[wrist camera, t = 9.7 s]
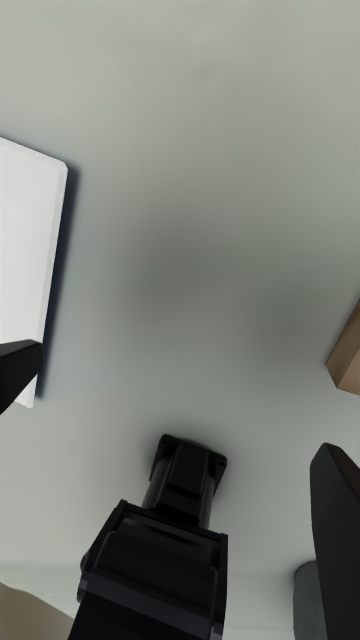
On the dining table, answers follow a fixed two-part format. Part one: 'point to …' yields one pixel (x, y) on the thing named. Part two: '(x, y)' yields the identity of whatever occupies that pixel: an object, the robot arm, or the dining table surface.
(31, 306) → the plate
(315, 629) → the grey bottle
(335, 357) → the base
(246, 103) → the dining table surface
